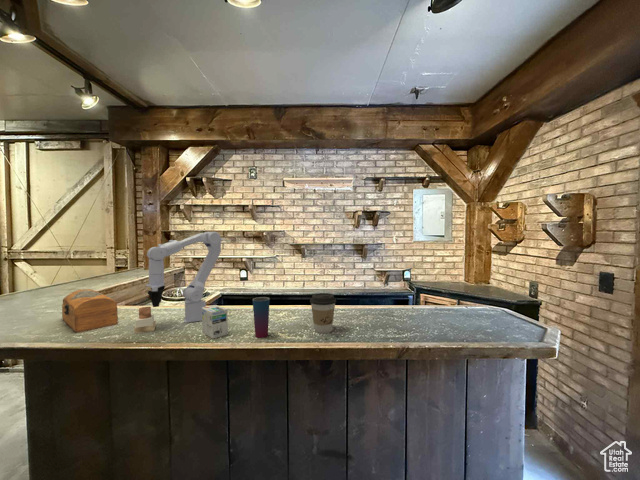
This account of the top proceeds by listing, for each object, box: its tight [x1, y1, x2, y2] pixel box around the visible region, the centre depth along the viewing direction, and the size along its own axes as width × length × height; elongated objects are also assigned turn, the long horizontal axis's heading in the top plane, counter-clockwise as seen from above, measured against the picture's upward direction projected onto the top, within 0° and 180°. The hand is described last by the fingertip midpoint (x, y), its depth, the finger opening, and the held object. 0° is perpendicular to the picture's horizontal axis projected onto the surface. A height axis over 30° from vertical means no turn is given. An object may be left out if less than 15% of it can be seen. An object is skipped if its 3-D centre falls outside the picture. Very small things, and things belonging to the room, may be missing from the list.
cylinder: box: [138, 306, 152, 319], centre depth 117 cm, size 4×4×4 cm
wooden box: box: [61, 288, 119, 334], centre depth 128 cm, size 30×16×14 cm, turn 50°
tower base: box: [133, 320, 157, 334], centre depth 117 cm, size 7×7×3 cm
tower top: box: [135, 314, 155, 328], centre depth 117 cm, size 6×6×3 cm
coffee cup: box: [309, 292, 337, 334], centre depth 114 cm, size 11×11×15 cm
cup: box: [252, 296, 271, 339], centre depth 109 cm, size 7×7×15 cm
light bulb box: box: [201, 304, 229, 340], centre depth 112 cm, size 11×7×11 cm, turn 45°
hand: (157, 304), depth 119 cm, fingers open, 7 cm apart
